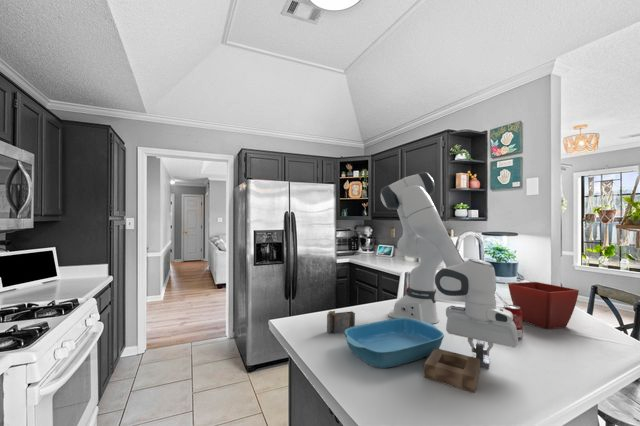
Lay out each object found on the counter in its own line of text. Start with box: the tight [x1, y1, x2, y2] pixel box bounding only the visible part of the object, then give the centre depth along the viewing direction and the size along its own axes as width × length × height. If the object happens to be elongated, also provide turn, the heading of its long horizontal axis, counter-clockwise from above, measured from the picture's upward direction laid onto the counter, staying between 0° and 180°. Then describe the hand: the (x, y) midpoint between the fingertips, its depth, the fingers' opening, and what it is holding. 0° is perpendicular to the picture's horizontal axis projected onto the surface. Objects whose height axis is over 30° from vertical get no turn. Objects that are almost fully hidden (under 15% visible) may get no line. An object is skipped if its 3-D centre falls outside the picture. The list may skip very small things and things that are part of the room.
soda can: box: [502, 304, 523, 340], centre depth 116 cm, size 7×7×12 cm
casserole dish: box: [344, 318, 445, 369], centre depth 101 cm, size 37×22×7 cm, turn 118°
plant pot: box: [508, 281, 580, 330], centre depth 132 cm, size 19×19×17 cm
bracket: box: [471, 340, 491, 370], centre depth 93 cm, size 5×5×6 cm
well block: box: [423, 348, 481, 394], centre depth 86 cm, size 13×13×4 cm
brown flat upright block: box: [326, 310, 356, 335], centre depth 119 cm, size 11×3×10 cm, turn 110°
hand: (480, 353), depth 93 cm, fingers closed on bracket
